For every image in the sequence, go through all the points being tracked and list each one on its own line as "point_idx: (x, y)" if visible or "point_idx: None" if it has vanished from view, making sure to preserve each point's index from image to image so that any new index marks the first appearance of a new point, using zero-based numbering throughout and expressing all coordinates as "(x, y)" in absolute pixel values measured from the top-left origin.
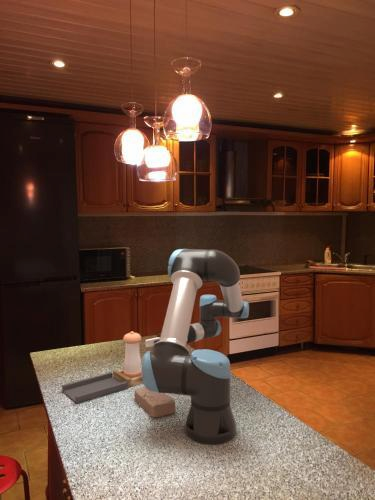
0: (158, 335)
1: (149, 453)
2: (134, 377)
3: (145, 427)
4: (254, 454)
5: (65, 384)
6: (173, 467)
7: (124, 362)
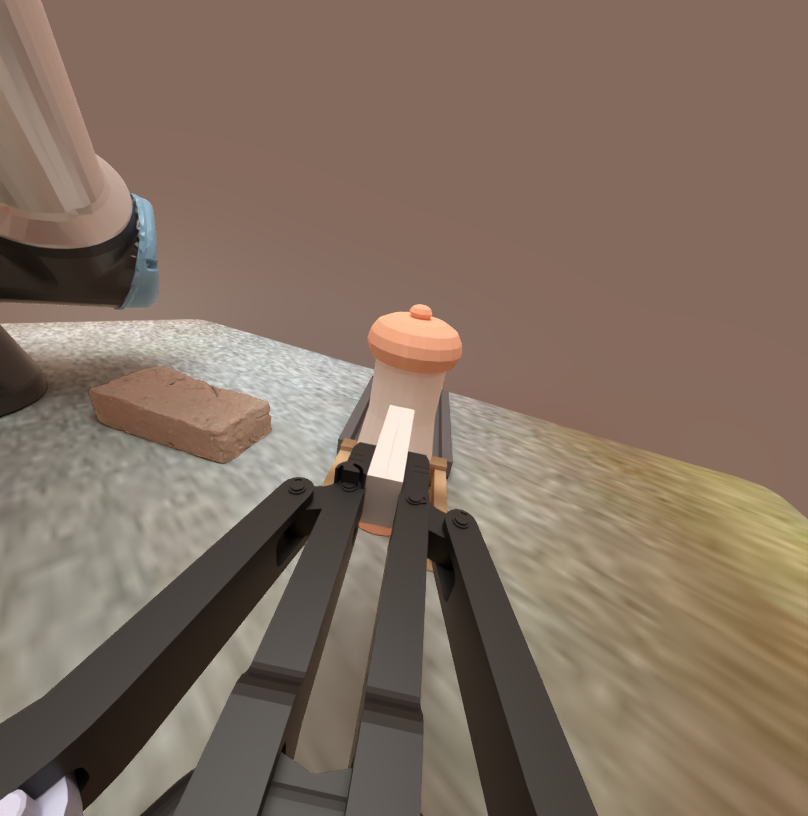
0: (453, 521)
1: (129, 348)
2: None
3: None
4: None
5: (447, 393)
6: (68, 340)
7: None
